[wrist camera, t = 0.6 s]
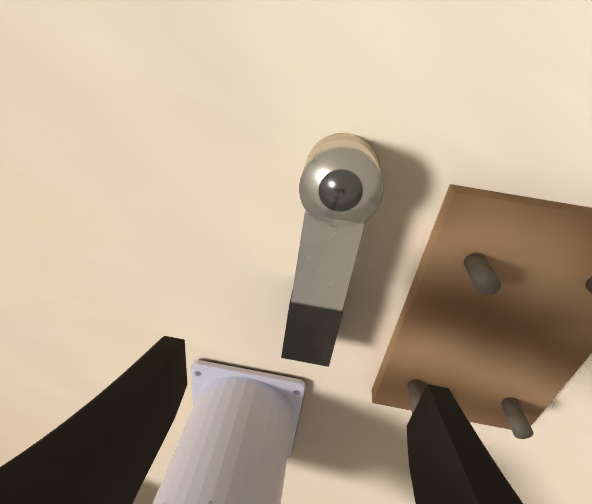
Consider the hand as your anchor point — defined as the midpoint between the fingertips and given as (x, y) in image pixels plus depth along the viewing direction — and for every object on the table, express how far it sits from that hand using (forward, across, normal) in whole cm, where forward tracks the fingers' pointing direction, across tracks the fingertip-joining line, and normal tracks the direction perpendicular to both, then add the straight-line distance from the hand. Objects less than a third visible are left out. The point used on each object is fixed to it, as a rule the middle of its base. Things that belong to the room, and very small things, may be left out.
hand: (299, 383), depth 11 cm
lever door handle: (+9, 0, +1) cm, 9 cm away
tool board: (+9, -10, +4) cm, 14 cm away
